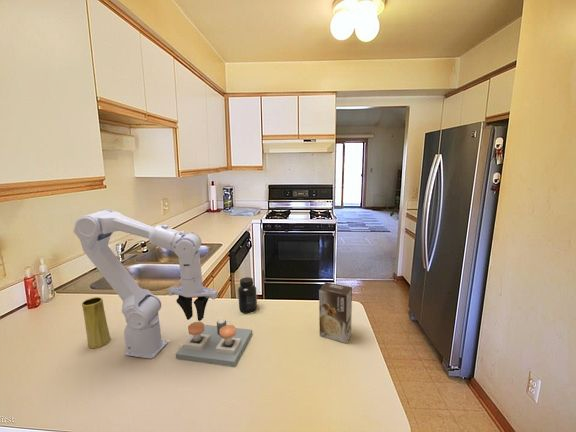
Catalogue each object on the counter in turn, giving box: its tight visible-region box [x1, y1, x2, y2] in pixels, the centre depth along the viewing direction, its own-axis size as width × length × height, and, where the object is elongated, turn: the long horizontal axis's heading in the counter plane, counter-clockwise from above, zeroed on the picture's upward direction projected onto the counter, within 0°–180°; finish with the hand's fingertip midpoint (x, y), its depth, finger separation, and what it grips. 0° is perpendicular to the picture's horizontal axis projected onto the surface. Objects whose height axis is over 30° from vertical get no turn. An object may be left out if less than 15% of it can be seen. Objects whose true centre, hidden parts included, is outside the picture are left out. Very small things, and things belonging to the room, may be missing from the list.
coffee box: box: [318, 282, 353, 344], centre depth 91 cm, size 9×6×16 cm
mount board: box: [174, 324, 253, 368], centre depth 88 cm, size 18×15×3 cm
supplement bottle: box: [237, 276, 258, 315], centre depth 107 cm, size 7×7×12 cm
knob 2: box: [219, 324, 237, 345], centre depth 84 cm, size 5×5×4 cm
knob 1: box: [187, 321, 205, 342], centre depth 86 cm, size 5×5×4 cm
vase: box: [81, 296, 111, 349], centre depth 89 cm, size 6×6×14 cm
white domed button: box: [216, 318, 228, 335], centre depth 91 cm, size 3×3×4 cm
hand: (195, 318), depth 85 cm, fingers open, 3 cm apart
